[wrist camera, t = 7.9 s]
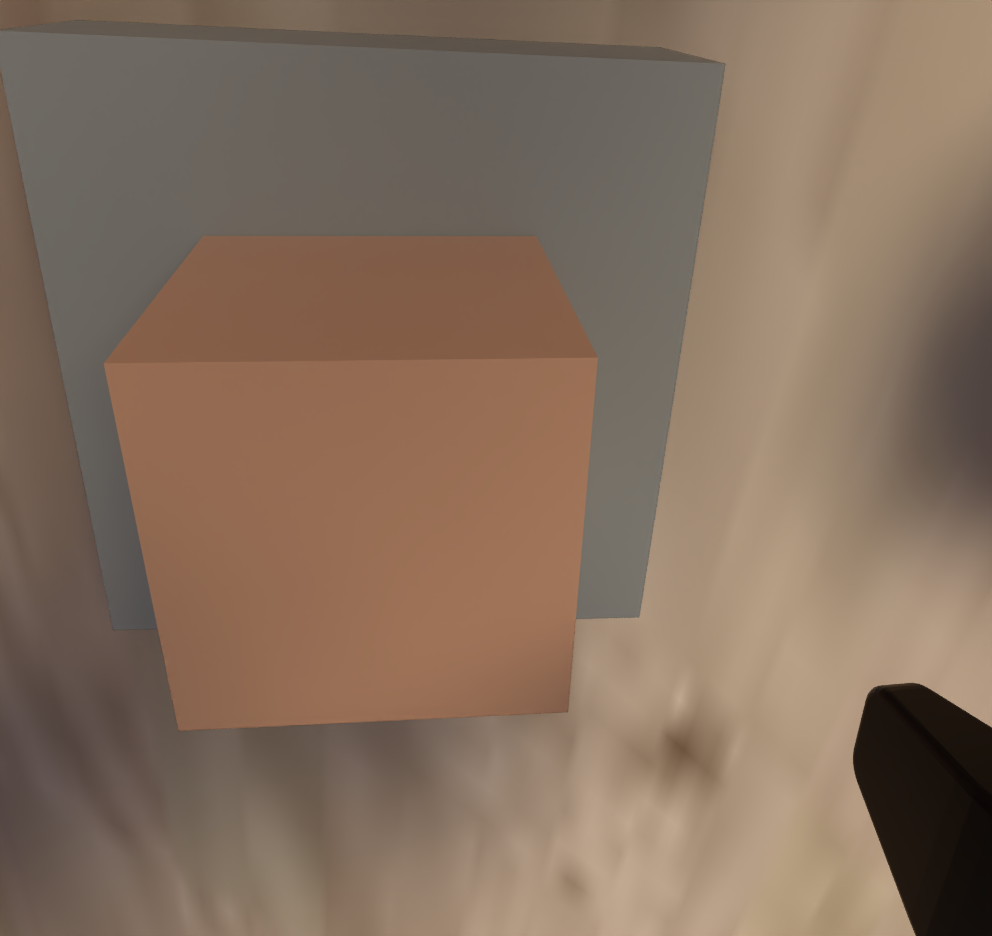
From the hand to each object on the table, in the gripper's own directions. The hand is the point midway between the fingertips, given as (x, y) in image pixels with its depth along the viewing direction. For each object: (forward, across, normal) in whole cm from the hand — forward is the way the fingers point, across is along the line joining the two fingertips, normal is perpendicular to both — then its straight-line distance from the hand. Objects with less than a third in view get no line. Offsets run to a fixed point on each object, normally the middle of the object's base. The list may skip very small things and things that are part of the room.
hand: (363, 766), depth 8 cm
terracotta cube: (+8, 0, 0) cm, 8 cm away
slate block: (+12, 0, 0) cm, 12 cm away
